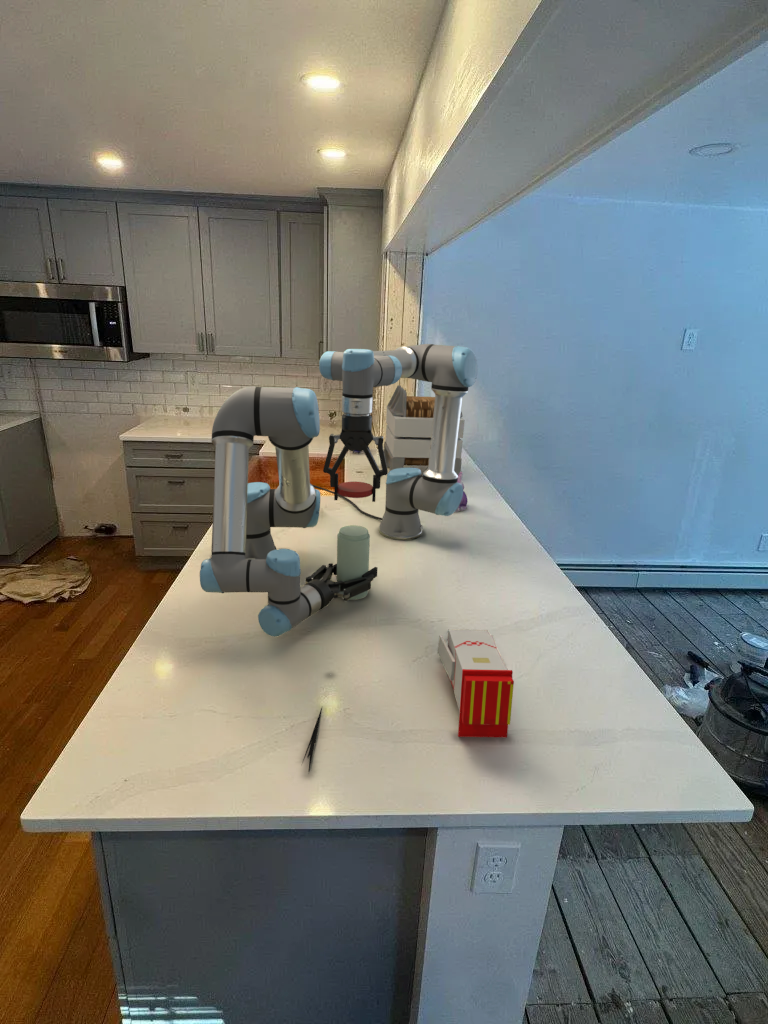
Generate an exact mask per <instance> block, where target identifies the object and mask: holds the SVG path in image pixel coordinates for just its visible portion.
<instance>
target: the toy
mask: <svg viewBox="0 0 768 1024" xmlns="http://www.w3.org/2000/svg"><path fill="white" fill-rule="evenodd" d="M446 640H447V643H446V641H445V639H444V636H443V635H442V634H439V637H438V646H437V656H438V657H439V659H440V661H441V663H442V666H443V668H444V670H445V672H446V674H447V677H448V679H449V681H450V684H451V687H452V690H453V693H454V697H455V701H456V705H457V708H458V711H459V714H458V715H459V716H458V730H457V731H458V732H457V737H458V738H508V731H509V726H510V725H511V717H512V707H513V697H514V696H513V695H514V684H515V680H514V679H513V673H514V671H513V670H512V669H508V667H507V665H506V662H505V661H504V659H503V658H502V655H501V653H500V651H499V649H498V647H497V643H496V639H495V637H494V635H493V634H491V632H490V631H489V629H467V628H466V629H465V628H463V629H461V628H460V629H459V628H448V630H447V639H446Z"/></svg>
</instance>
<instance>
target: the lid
mask: <svg viewBox="0 0 768 1024" xmlns="http://www.w3.org/2000/svg"><path fill="white" fill-rule="evenodd" d="M337 493H338V494H339V495H341V496H344V497H346V498H348V499H362V498H368V497H370V496H372V494H373V484H370V483H367V482H365V481H344V482H341V483H338V489H337Z"/></svg>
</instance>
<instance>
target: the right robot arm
mask: <svg viewBox="0 0 768 1024" xmlns="http://www.w3.org/2000/svg"><path fill="white" fill-rule="evenodd" d="M318 364H319V365H318V369H319V373H320V375H321V376H322V377H323V378H324V379H326V380H331V381H338V382H342V393H341V412H342V415H341V430H340V431H341V432H339V434H334V433H330V434H329V437H328V442H329V445H328V450H327V453H326V458H325V462H324V465H323V469H322V472H323V473H324V474H328V475H329V485H330V488H334V489H333V490H334V491H332V490H330V489H327V488H325V487H322V486H318V485H315V484H312V486H313V487H314V489H317V490H322V491H325V492H328V493H330V494H333V500H334V501H338V500H339V499H338V498H339V497H340V498H342V499H344V500H345V501H347V502H348V503H350V504H351V505H352V506H353V507H355V508H356V510H357V511H358V512H360V513H361V514H363V515H365V516H367V517H370V518H373V519H375V520H379V521H381V522H379V526H378V533H379V534H380V535H381V536H382V537H385V538H387V539H389V540H395V541H410V540H415V539H418V538H420V537H421V536H422V535H423V529H424V527H423V524H421V518H420V515H419V511H423V512H426V513H431V514H433V515H435V516H443V517H450V516H452V515H453V514H454V513H456V512H455V511H456V510H457V508H458V506H459V504H460V502H461V499H462V496H463V491H464V489H463V486H462V485H461V484H460V483H457V482H458V475H457V474H456V473H455V471H454V467H455V458H456V449H457V440H458V432H459V423H460V414H461V412H462V405H463V398H464V396H465V395H467V394H468V393H469V388H471V387H473V386H474V385H475V383H476V380H477V378H478V373H479V371H478V370H479V368H478V367H479V365H478V359H477V357H476V353H475V352H474V351H473V349H471V348H470V347H466V346H461V345H446V344H433V343H421V344H414V345H405V346H399V347H397V348H396V349H393V350H373V349H367V348H348V349H345V350H344V351H337V350H333V351H332V350H331V351H330V350H327V351H325V352H324V353H323V354H322V355H321V356H320V358H319V362H318ZM401 379H411V380H417V381H420V382H427V383H431V387H430V389H431V391H432V392H433V393H434V397H435V404H434V414H433V424H432V434H431V444H430V454H429V464H428V466H427V468H426V470H424V471H423V472H422V470H421V468H418V467H404V468H398V469H394V470H391V471H390V470H388V467H387V465H386V460H385V455H384V436H383V435H379V436H378V435H374V434H373V430H372V429H373V428H372V427H373V424H372V423H373V416H372V415H371V414H372V413H373V401H374V400H373V399H374V397H373V396H374V393H373V392H374V388H379V387H390V386H391V385H395V384H397V382H399V381H400V380H401ZM339 440H340V441H341V443H342V444H343V445H344V446H343V448H342V449H341V451H340V453H339V455H338V456H337V459H336V460H335V461H334V463H333V466H332V467H330V465H331V462H332V458H333V453H334V449H335V445H336V444H337V443H338V441H339ZM372 442H374V444H375V446H377V452H378V456H379V461H380V466H381V469H380V468H379V466H378V464H377V461H376V459H375V457H374V455H373V453H372V452H371V448H370V447H369V445H370V444H371V443H372ZM355 450H356V451H360V452H363V453H364V455H365V456H366V458H367V460H368V463H369V464H370V466H371V469H372V471H373V473H374V474H373V475H372V486H373V494H372V495H371V496H372V497H371V498H372V500H371V501H372V503H376V494H377V493H376V491H377V490H379V489H380V488H381V478H382V477H383V476H386V480H385V504H384V505H385V507H384V508H385V509H384V513H383V515H382V517H380V516H376V515H373V514H370V513H368V512H365V511H363V510H362V509H361V508H359V506H358V505H356V503H354V502H353V501H352V500H351V499H350V498H348V497H344V496H341V495H339V494H338V493H337V489H338V485H339V473H338V472H337V471H338V469H339V467H340V466H341V464H342V462H343V461H344V458H345V457H346V455H347V453H348V451H350V452H353V451H354V452H355Z"/></svg>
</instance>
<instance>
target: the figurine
mask: <svg viewBox="0 0 768 1024" xmlns="http://www.w3.org/2000/svg"><path fill="white" fill-rule="evenodd" d="M457 483H460V484H461V485H462V486H463V496H462V499H461V502H460V504H459V506H458V508H457V510H456V511H455V512H454V513H456V512H463V511H465V510H466V509H467V506H468V496H467V494H466V492H465V491H464V489H465V485H464V482H463V471H461V472H460V473H459V475H458V482H457Z"/></svg>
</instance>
